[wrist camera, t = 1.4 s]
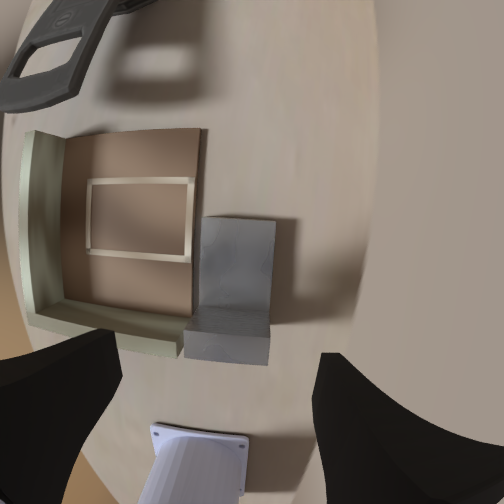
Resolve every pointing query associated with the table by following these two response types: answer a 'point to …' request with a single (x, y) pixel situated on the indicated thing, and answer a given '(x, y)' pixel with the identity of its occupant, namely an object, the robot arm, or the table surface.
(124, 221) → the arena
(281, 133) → the table surface
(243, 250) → the angle bracket
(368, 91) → the table surface
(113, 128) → the table surface
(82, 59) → the zipper pull
